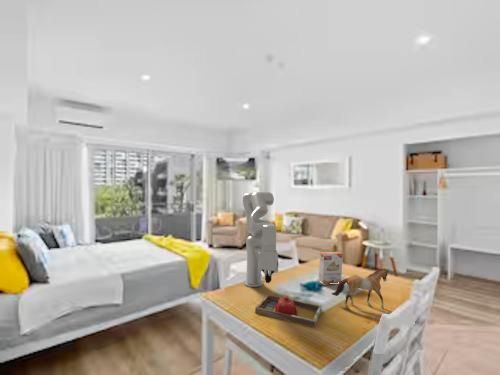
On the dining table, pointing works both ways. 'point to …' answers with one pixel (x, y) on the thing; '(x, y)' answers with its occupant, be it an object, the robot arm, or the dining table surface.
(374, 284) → the horse figurine
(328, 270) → the cracker box
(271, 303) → the box
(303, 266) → the dining table surface
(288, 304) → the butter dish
